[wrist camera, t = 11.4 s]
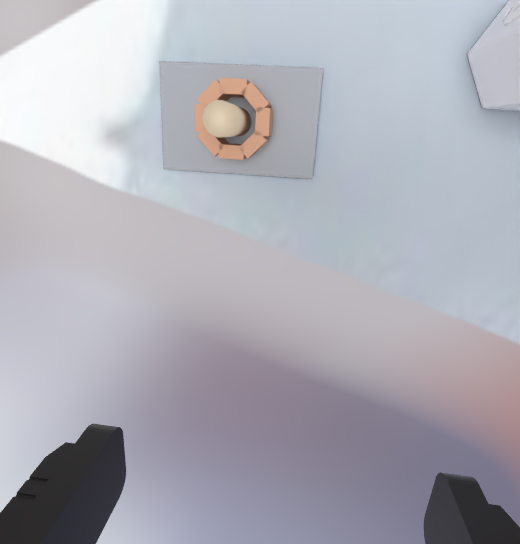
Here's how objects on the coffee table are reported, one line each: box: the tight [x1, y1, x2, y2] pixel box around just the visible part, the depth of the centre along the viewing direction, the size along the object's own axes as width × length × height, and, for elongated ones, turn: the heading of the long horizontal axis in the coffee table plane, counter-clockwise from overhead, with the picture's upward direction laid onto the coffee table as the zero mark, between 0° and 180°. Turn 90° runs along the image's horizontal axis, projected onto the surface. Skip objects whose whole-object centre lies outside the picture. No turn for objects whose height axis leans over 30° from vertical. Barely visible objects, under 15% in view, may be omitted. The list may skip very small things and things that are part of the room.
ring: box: [195, 78, 274, 160], centre depth 32 cm, size 6×6×4 cm
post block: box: [159, 61, 323, 179], centre depth 31 cm, size 14×9×9 cm, turn 87°
